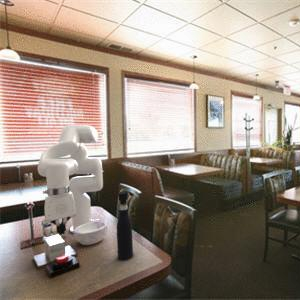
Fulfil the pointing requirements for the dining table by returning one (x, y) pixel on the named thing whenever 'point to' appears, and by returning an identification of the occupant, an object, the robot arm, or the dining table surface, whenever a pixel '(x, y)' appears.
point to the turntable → (43, 260)
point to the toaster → (54, 247)
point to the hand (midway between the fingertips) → (61, 233)
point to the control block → (62, 266)
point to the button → (62, 258)
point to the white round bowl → (90, 233)
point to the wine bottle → (124, 229)
